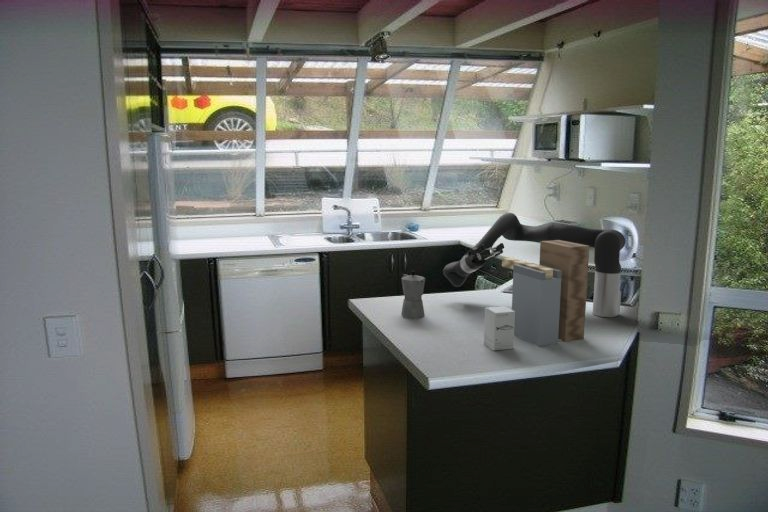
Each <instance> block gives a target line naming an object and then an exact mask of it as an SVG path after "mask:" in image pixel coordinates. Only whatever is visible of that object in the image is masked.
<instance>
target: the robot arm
mask: <svg viewBox="0 0 768 512" xmlns="http://www.w3.org/2000/svg"><path fill="white" fill-rule="evenodd" d="M501 237H503V238H504V239H505V240H508V241H512V242H513V241H514V242H515V241H516V242H530V243H531V242H532V243H538V244H540V241H551V240H562V241H567V242H572V243H577V244H583V245H588V246H589V248H593V249H594V251H593V252H594V253H593V256H594V258H593V262H594V266H595V268H594V270H595V271H594V285H593V301H592V314H593V315H595V316H597V317H602V318H616V317H617V316H620V315H621V314H620V313H621V303H622V302H621V300H622V290H620V288H621V272H622V264H621V263H620V254H621V251H622V249H624V247H625V246H626V242H627V241H626V237H625V235H624V234H623V233H622V232H621V231H619V230H617V229H600V228H599V229H596V228H588V227H582V226H577V225H573V224H567V223H560V222H546V223H542V224H541V225H535V226H534V225H532V226H531V225H526V224H522V223H521V222H520V220H519V219H518V216H517V215H516V214H515V213H513V212H505V213H504V214H502V215H500V216H499V217H498V218H497V220H495V222H494V223H493V225H491V227H490V228H489V229H488V231H487V232H486V233H485V234H484V235H483V237H482V238H481V239H480V240H479V241H478V242H477V243H476V244H475V245H474V246H473V247H472V248H470V249H469V250H468V251H467V252H466V253H464V255H463V256H462V257H461V259H459V260H458V261H453V262H450V263H448V264H446V265H445V266H444V268H443V269H442V273H443V275H444V277H445V278H446V279H447V280H448V281H449V282H450V284H451V285H452V286H453V287H456V288H459V287H461V286H462V285H464V283H466V280H467V279H468V277H469V275H471V274H472V273H473V272H476V271H477V270H479V269H480V268H481V267H483V266H484V265H485V264H486V263H487V260H488V259H489V258H497V257H498V256H500V255H502V254H503V253H504V251H503V249H505V245H504V243H503V242H500V243H499V244H498V245H496V246H494V245H495V243H496V242H497V241H498V240H499V239H500V238H501ZM493 246H494V247H493Z"/></svg>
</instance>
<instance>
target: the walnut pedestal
mask: <svg viewBox="0 0 768 512" xmlns="http://www.w3.org/2000/svg"><path fill="white" fill-rule="evenodd" d="M539 244H540V245H539V261H538V262H539V264H538V265H542V266H546V267H549V268H553V269H557V270H561V271H562V275H561V294H560V313H559V332H558V340H560V341H562V342H565V343H567V342H573V341H579V340H584V339H585V325H586V324H585V323H586V309H587V307H586V306H587V296H588V295H587V293H588V292H587V291H588V279H589V277H588V275H589V260H590V259H589V258H590V257H589V256H590V247H589V246H588V245H583V244H577V243H572V242H567V241H562V240H551V241H540V243H539Z"/></svg>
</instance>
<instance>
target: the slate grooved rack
mask: <svg viewBox="0 0 768 512" xmlns="http://www.w3.org/2000/svg"><path fill="white" fill-rule="evenodd" d="M530 263H531V264H535V265H539V264H537V263H533V262H530ZM539 266H542V265H539ZM543 267H546V266H543ZM546 268H549V267H546ZM550 269H553V268H550ZM512 270H513V273H512V291H511V292H512V295H511V310H513V311H515V326H514V336H516V337H518V338H520V339H522V340H525V341H527V342H529V343H530V344H533V345H535V346H537V347H541V346H543V347H544V346H549V345H553V344H558V343H559V339H558V332H559V313H560V294H561V275H562V271H561V270H557V269H553V278H551V279H545V274H546V272H542V271H539V270H535V269H532V268H528V267H525V266H521V265H517V264H516V265H513V269H512Z"/></svg>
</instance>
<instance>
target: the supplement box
mask: <svg viewBox="0 0 768 512" xmlns="http://www.w3.org/2000/svg"><path fill="white" fill-rule="evenodd" d="M514 326H515V311H513V310H512V308H509V307H507V306H505V305H503V306H491V307H484V328H483V329H484V331H483V344H484V345H485V346H486V347H488V348H489V349H490V350H492V351H499V350H500V351H501V350H502V351H503V350H511V349H512V350H513V349H514V346H515V345H514V343H515V335H514Z"/></svg>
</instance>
